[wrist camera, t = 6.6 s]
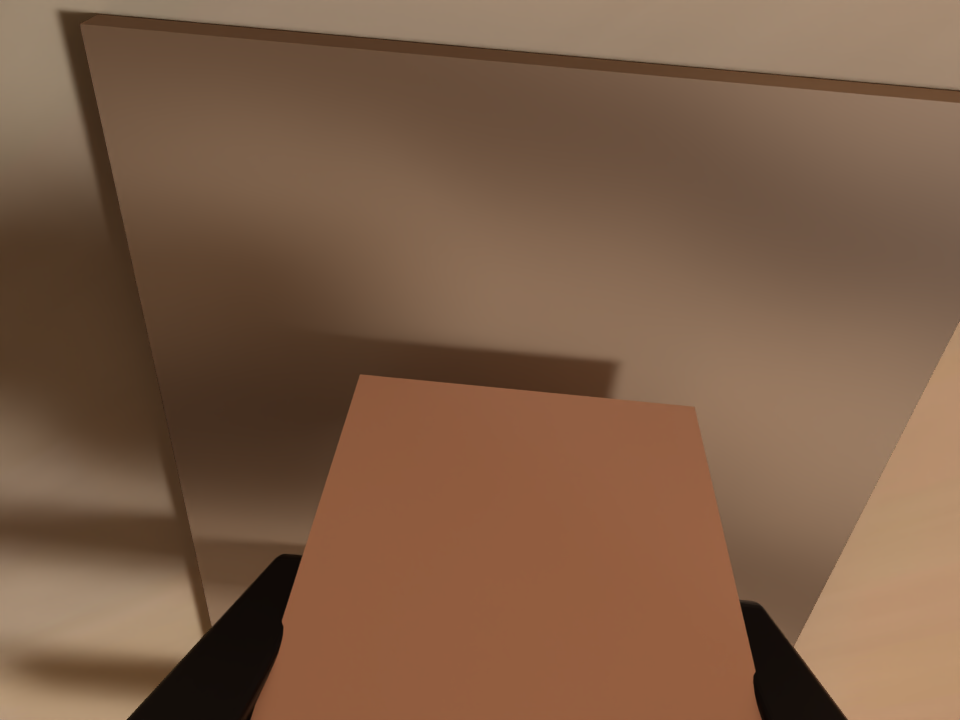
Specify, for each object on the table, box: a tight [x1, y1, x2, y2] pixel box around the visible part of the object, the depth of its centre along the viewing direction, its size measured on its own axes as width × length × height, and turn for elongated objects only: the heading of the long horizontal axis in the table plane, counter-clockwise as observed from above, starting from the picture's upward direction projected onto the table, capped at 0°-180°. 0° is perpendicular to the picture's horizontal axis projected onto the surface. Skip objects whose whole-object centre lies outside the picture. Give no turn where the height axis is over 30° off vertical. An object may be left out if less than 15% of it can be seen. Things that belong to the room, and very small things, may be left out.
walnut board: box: [80, 14, 960, 647], centre depth 19 cm, size 30×12×1 cm, turn 176°
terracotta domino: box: [251, 374, 762, 720], centre depth 8 cm, size 2×5×8 cm, turn 86°
